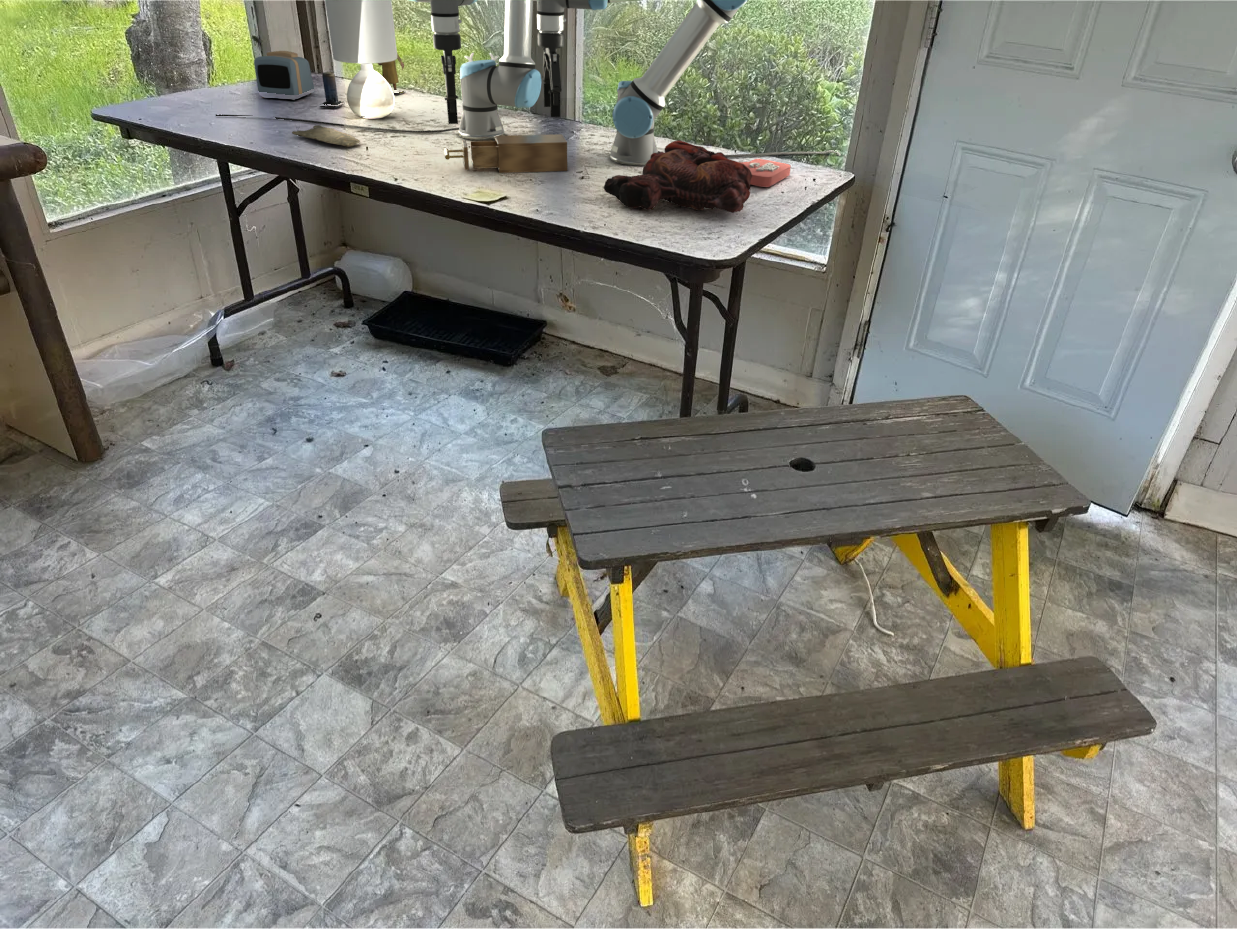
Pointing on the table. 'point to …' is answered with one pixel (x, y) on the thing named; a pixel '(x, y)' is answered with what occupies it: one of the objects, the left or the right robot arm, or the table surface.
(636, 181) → the sculpture
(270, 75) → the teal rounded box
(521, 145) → the cabinet
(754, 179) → the plaque
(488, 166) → the drawer
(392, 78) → the figurine
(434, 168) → the table surface
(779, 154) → the right robot arm
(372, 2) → the lamp
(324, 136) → the stone tool
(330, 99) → the beverage can
